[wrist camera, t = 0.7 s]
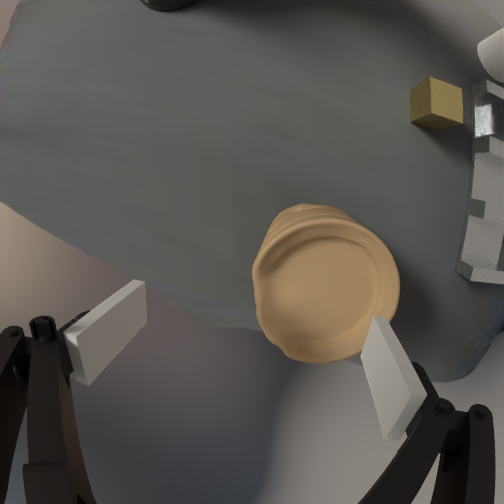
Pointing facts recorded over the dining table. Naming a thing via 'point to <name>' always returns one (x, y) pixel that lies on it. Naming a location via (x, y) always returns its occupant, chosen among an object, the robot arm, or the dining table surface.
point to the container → (322, 283)
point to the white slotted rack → (484, 188)
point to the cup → (493, 55)
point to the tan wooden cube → (436, 104)
